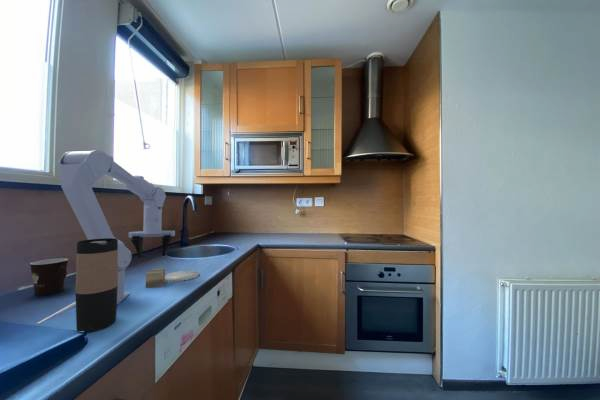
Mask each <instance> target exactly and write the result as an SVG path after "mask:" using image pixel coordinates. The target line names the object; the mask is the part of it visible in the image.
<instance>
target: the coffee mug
mask: <svg viewBox="0 0 600 400" xmlns="http://www.w3.org/2000/svg"><path fill="white" fill-rule="evenodd" d="M68 261H69V258H62V257H60V258H51V259H43V260H38V261H33V262H30V263H29V265H30V273H31V277H32V285H33V292H34V295H35V296H37V297H38V296H49V295H53V294H57V293H61V292H62V291H64V285H65V281H66V280H65V279H66V277H67V275H68V272H67V271H68V270H67V269H68V268H67V267H68Z"/></svg>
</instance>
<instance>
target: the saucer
mask: <svg viewBox="0 0 600 400" xmlns="http://www.w3.org/2000/svg"><path fill="white" fill-rule="evenodd" d="M198 275H200V272H199V271H197V270H192V269H191V270H180V271H174V272H170V273H168V274H165V281H167V282H185V281H184V280H186V281H190V280H193V279H192V278H194V279H196V278H198V277H199V276H198ZM197 276H198V277H197ZM195 277H196V278H195ZM189 279H190V280H189Z"/></svg>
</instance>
